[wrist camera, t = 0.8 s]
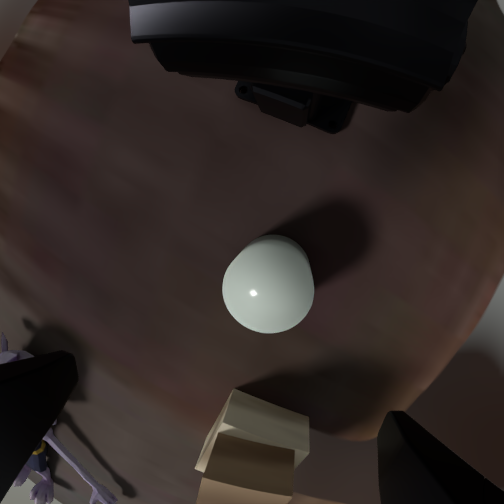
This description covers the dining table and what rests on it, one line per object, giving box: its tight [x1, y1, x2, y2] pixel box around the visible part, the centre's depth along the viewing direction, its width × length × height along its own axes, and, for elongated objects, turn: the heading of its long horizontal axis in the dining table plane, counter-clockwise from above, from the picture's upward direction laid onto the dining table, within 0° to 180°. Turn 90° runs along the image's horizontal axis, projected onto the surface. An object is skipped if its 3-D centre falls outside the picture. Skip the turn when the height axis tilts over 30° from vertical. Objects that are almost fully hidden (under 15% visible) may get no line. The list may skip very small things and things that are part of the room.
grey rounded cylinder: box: [223, 235, 314, 333], centre depth 17 cm, size 4×4×4 cm
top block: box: [196, 432, 295, 504], centre depth 16 cm, size 5×5×4 cm
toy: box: [0, 332, 118, 504], centre depth 23 cm, size 26×9×30 cm
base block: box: [195, 389, 310, 472], centre depth 19 cm, size 6×6×4 cm
